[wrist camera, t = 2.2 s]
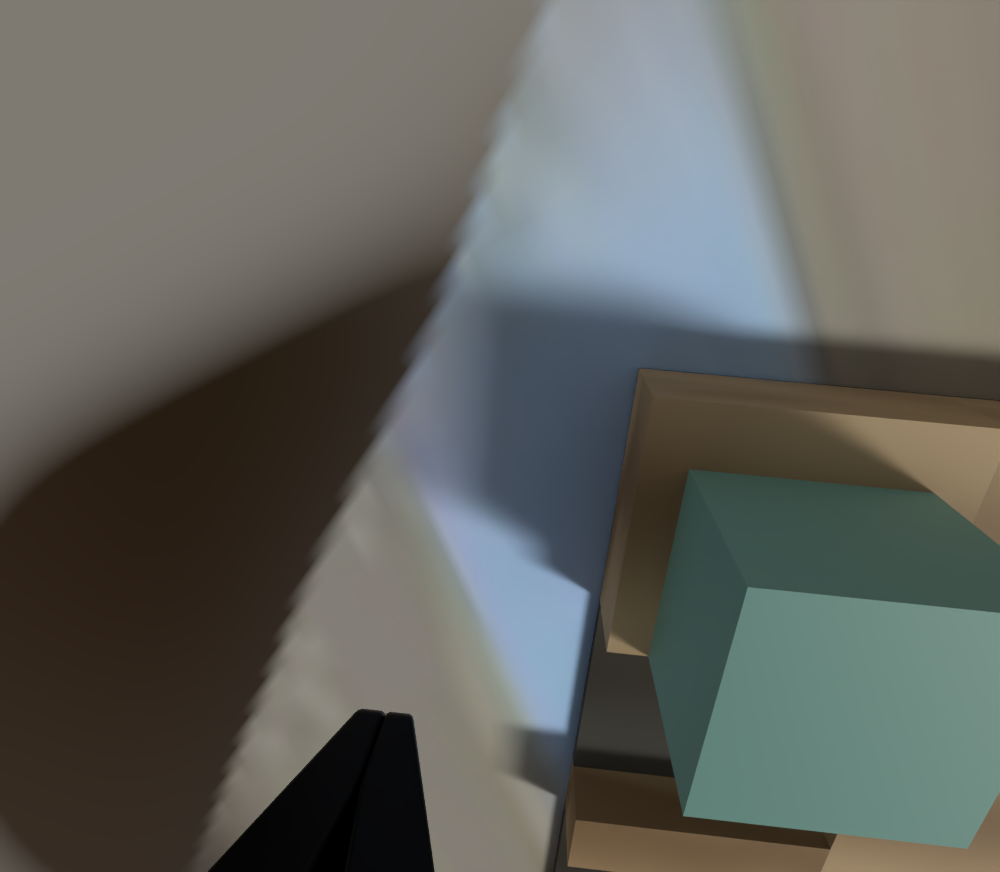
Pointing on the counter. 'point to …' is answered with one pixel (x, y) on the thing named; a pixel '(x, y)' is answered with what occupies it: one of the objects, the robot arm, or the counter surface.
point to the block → (830, 659)
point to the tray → (640, 580)
